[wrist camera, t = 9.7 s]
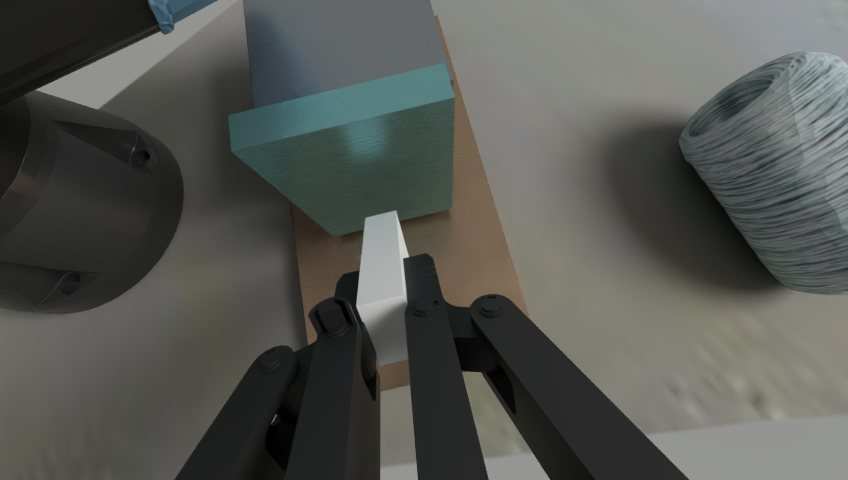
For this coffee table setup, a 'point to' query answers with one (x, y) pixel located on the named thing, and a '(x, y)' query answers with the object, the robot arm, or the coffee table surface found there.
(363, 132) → the block
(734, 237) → the coffee table surface
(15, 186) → the robot arm
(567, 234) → the coffee table surface
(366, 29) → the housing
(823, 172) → the spool
